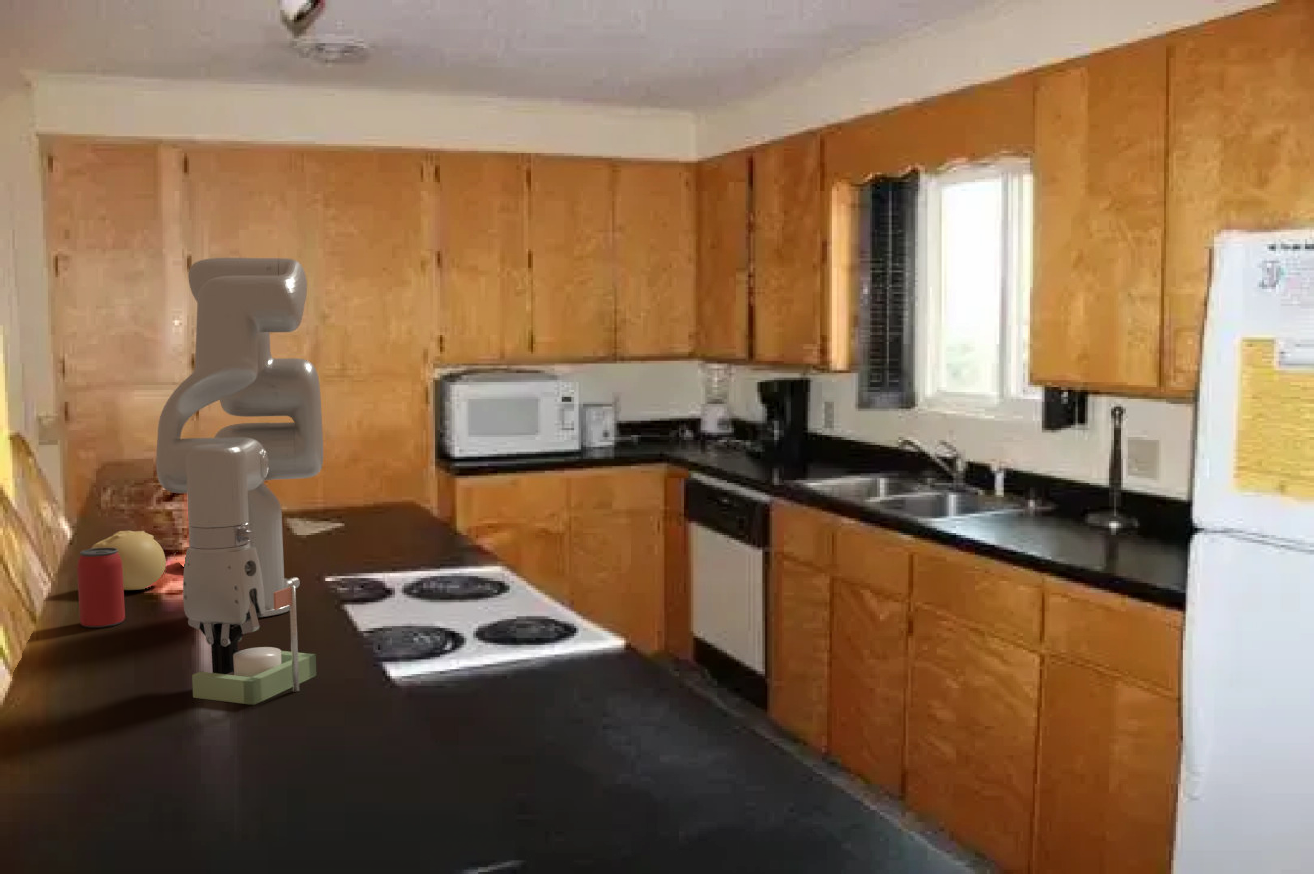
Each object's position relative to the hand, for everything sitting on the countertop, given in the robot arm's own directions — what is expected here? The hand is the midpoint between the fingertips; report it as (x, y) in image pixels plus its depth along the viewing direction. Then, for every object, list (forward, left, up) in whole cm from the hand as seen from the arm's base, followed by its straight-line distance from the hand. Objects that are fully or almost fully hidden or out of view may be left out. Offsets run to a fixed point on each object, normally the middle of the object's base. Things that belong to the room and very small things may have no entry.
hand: (225, 671), depth 157 cm
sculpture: (-42, -56, -2) cm, 70 cm away
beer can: (-20, -41, -2) cm, 46 cm away
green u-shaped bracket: (0, +6, -2) cm, 6 cm away
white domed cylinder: (0, +5, -2) cm, 5 cm away
